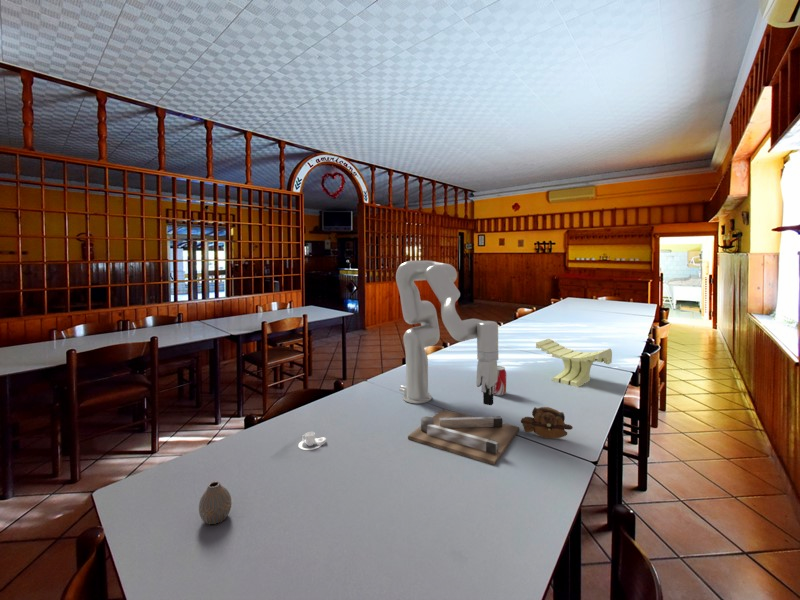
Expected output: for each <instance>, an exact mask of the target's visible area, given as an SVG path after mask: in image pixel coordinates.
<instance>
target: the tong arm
mask: <svg viewBox="0 0 800 600" xmlns="http://www.w3.org/2000/svg"><path fill="white" fill-rule="evenodd" d="M502 423H503V418H502V416H501V415H497V416H496V415H493V416H474V417H462V418H439V426H440V427H444V428H467V427H502Z"/></svg>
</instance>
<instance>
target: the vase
mask: <svg viewBox="0 0 800 600" xmlns="http://www.w3.org/2000/svg"><path fill="white" fill-rule="evenodd" d="M231 508H232V496H231V493H230V492H229V490H228V489H227V488H226V487H225V486H223V485H222V484H221V483H220V482H219V481H212V482H211V483H209V484H208V486H207V487H206V490H205V491H204V492H203V494H202V495H201V497H200V499H199V503H198V513H199V517H200V519H201V521H203V523H205V524H206V525H210V524H215V525H217V524H216V523H218V524H220V523H221V521H222V522H224V520H225V519H226V518H227V517H228V516H229V514H230V512H231ZM219 522H220V523H219Z"/></svg>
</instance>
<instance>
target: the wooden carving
mask: <svg viewBox="0 0 800 600" xmlns="http://www.w3.org/2000/svg"><path fill="white" fill-rule="evenodd" d="M531 414H532V416H524V417H521V419H520V424H522V427H523V431H524V432H526V433H534V434H536V435H537V436H539V437H541V438H543V439H552V440H553V439H560V438H564V437H566V436H568V432H567V430H568V431H570V430H573V428H574V427H573V425H571V424H567V423H565V417H566V416H565V414H564V412H563V411H562V412H561V411H559V410H558V409H555V408H553V407H550V406H549V407H548V406H542V407H536V406H535V407H534V408H533V409H532V411H531Z"/></svg>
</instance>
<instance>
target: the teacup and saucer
mask: <svg viewBox="0 0 800 600" xmlns="http://www.w3.org/2000/svg"><path fill="white" fill-rule="evenodd" d="M304 437H305V438H304ZM301 439H302V440H301V441H300V442H299V443H298V445H297V446H298V449H299V450H303V451H311V450H313V451H314V450H316V449H318V448H321V447H322V446H323V445H324V444H326V442H327V438H326V437H319V438H317V437H316V433H315V431H307V432H305V434H302V436H301ZM304 443H305V444H306V445H307V446H308V447H311V446H312V447H311V448H308V447H307V448H305V447H304V446H303V444H304ZM314 444H316V446H315V447H313V446H314Z"/></svg>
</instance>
